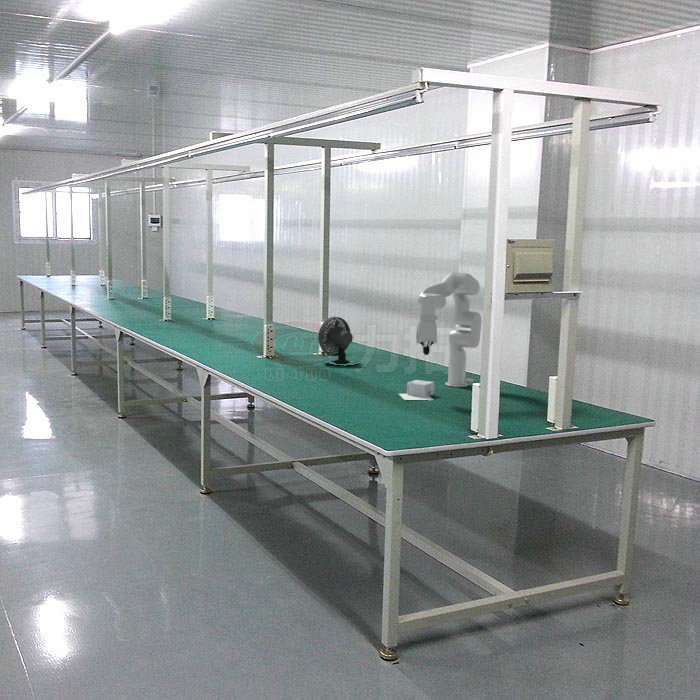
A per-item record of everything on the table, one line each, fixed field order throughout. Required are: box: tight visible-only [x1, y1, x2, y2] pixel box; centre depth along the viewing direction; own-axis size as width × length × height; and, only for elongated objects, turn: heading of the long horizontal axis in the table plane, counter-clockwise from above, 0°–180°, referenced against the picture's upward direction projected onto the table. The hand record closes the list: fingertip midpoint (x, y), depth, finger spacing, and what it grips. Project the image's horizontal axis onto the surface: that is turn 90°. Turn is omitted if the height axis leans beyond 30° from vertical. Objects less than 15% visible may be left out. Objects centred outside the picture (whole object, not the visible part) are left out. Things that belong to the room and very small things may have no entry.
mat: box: [398, 393, 434, 401], centre depth 393 cm, size 15×16×1 cm
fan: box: [317, 316, 354, 364], centre depth 495 cm, size 26×26×30 cm
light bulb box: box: [406, 379, 435, 397], centre depth 399 cm, size 11×7×11 cm
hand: (426, 354), depth 391 cm, fingers closed
